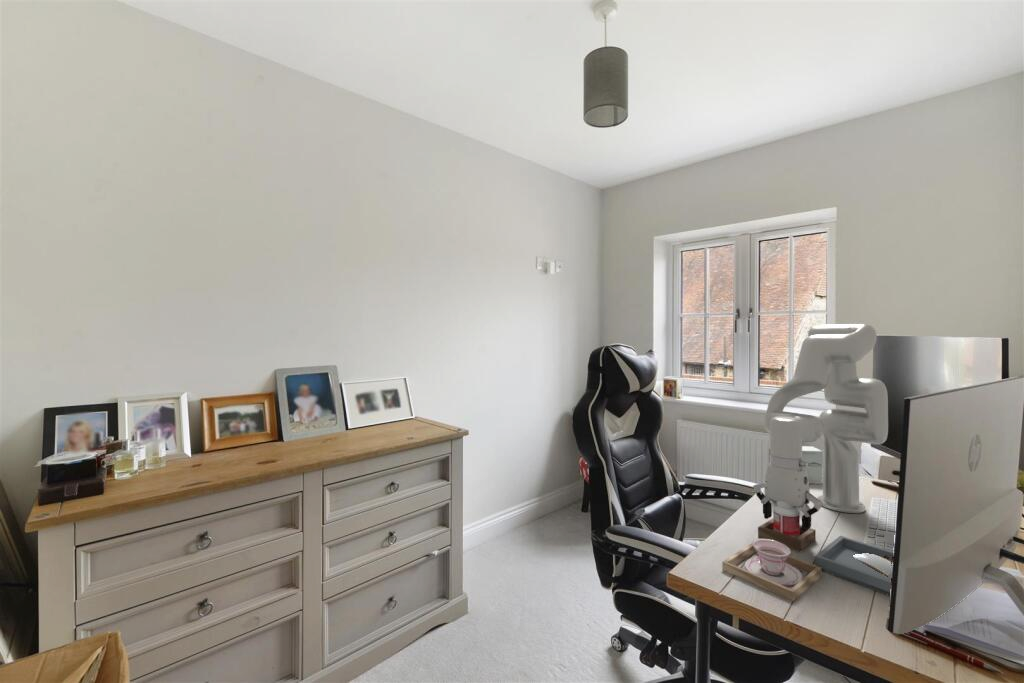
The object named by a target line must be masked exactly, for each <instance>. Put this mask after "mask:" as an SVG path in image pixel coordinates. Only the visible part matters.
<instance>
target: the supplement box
mask: <svg viewBox="0 0 1024 683" xmlns="http://www.w3.org/2000/svg"><path fill="white" fill-rule="evenodd" d="M802 458H803V461H805V462H808V467H802V468H804V469H806V472H807V476H808V482H809V484H813V485H814V484H816V485H823V450H822V449H819V448H817V447H815V446H809V445H808V446H807V445H806V446H805V445H802Z"/></svg>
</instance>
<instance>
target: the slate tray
mask: <svg viewBox="0 0 1024 683" xmlns="http://www.w3.org/2000/svg"><path fill="white" fill-rule="evenodd" d="M893 552H894V551H891V550H888V549H886V548H882V547H879V546H876V545H873V544H869V543H865V542H862V541H860V540H856V539H852V538H849V537H846V536H843V535H839V536H838V537H837V538H835V539H834V540H833V541H832V542H830V543H829V544H828V545H827V546H826V547H824V548H823V549H822V550H820V551H819V552H818V553H816V555H814V565H816V566H818V567H821V568H822V572H824V573H827V574H830V575H833V576H835V577H838V578H841V579H842V580H843V579H844V580H846V581H849V582H852V583H853V584H857V585H860V586H862V587H864V588H867V589H869V590H873V591H875V592H879V593H881V594H883V593H884V595H886V594H888V595H887V596H888V597H891V596H890V589H891V573H890V575H888V577H887V576H885V575H884V574H881V573H879V572H877V571H875V570H874V569H872V568H870V567H868V566H867V565H865V564H863V563H862V562H860V561H858V560H856V559H855V558H854V557H853V555H855V554H862V553H869V554H875V555H878V556H882V557H884V556H886V555H887V557H889V559H890V560H891V564H892V557H893ZM891 566H892V565H891Z"/></svg>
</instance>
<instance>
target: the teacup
mask: <svg viewBox="0 0 1024 683" xmlns="http://www.w3.org/2000/svg"><path fill="white" fill-rule="evenodd" d="M752 543H753V546H754V548H755V550H756V551H757V553H756V554H757V555H758V557H755V556H754V557H751V558H748V559H747V560H746V561H744V568H745V570H747V571H749V572H752V573H754V574H756V575H759V576H761V577H764V578H766V579H768V580H771V581H773V582H775V583H778V584H780V585H782V586H785V587H787V586H788V587H789V586H795V585H796V584H797V583H799V582H800V581H801V580H802V579H803V578H804V577H803V574H802V572H800V569H797V568H795V567H793V566H792V565H790V564H787V563H785V561H786V560H787V557H789V556H791V554H792V550H791V549H789V548H788V547H787V546H786V545H784V544H782V543H780V542H777V541H774V540H770V539H760V538H756V539H754V541H753V542H752ZM781 573H783V576H779V575H780V574H781ZM778 576H779V577H778Z"/></svg>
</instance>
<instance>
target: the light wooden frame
mask: <svg viewBox="0 0 1024 683" xmlns="http://www.w3.org/2000/svg"><path fill="white" fill-rule="evenodd" d="M754 553H756V554H757V551H756V550H755V548H754V546H753V542H752V543H750V544H748V545H747V546H745V547H744V548H742V549H740V550H739V551H737V552H736V553H734V554H731V556H729V557H727V558H726V559H725V560H722V564H721V566H722V571H724V572H726V573H729V574H731V575H733V576H736V577H737V578H740V579H742V580H745V581H747V582H749V583H751V584H753V585H756V586H758V587H760V588H763V589H765V590H766V591H770V592H771V593H774V594H776V595H778V596H781V597H783V598H785V599H787V600H789V601H792V602H794V601H796V600H797V599H798V598H799V597H800V596H801V595H802V594H804V592H806V591H807V590H808V589H809V588H810V587H812V585H814V584H815V583H816V582H817V581H818V580H819V579H820V578H821V577H823V576H822V575H823V574H822V573H823V571H822V568H821V567H818V566H816V565H815V564H812V563H810V562H807V561H804V560H802V559H799V558H795V557H794V556H791V555H789V557H787V560H786V561H785V563H787V564H790V565H792V566H793V567H795V568H796V569H797V570H799V571H800V570H801V571H803V572H806V573H807V575H805V576H804V577H802V578H803V579H802V580H801V581H800V582H799V583H797V584H796V585H793V586H792V588H789V587H787V586H785V585H780V584H778V583H775V582H773V581H771V580H768V579H766V578H764V577H761V576H759V575H756V574H754V573H752V572H749V571H747V570H746V568H745V569H744V568H743V567H739V566H737V564H740V563H741V562H742V561H744V560H745V559H746V558H748V557H750V556H751V555H753V554H754Z"/></svg>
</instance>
